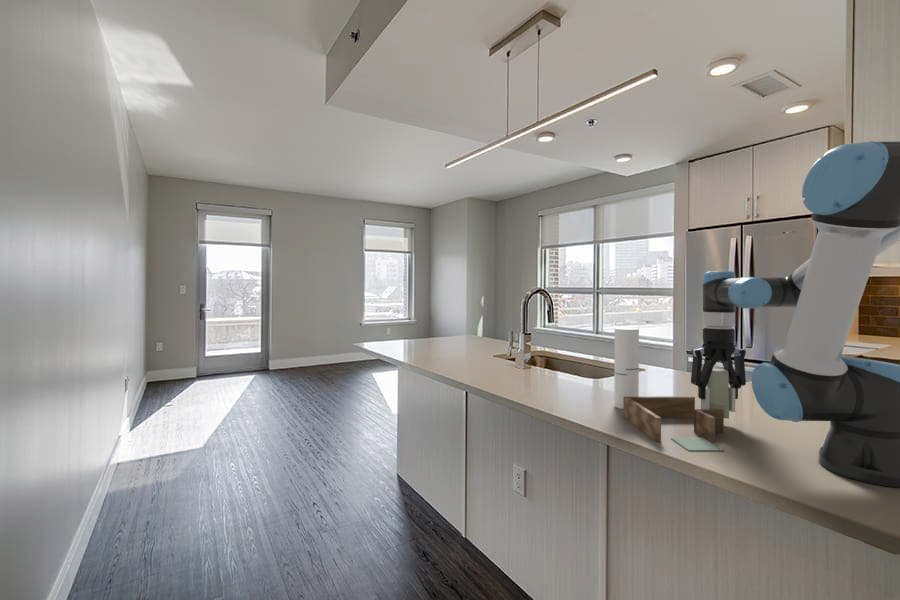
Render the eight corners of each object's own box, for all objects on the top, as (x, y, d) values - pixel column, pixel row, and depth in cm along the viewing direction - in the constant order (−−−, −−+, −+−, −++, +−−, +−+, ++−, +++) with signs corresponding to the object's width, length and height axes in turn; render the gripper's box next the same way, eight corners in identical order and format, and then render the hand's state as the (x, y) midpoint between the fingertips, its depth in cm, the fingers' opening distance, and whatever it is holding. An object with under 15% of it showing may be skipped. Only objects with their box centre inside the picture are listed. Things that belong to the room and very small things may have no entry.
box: (728, 415, 118) (729, 369, 117) (729, 419, 114) (729, 371, 114) (706, 412, 120) (707, 367, 120) (706, 416, 117) (706, 369, 116)
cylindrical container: (641, 410, 131) (641, 329, 130) (616, 409, 133) (616, 329, 132) (635, 403, 138) (636, 327, 137) (612, 402, 140) (612, 327, 139)
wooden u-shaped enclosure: (738, 441, 104) (738, 417, 104) (656, 441, 105) (656, 417, 104) (692, 416, 124) (692, 396, 124) (623, 416, 125) (623, 396, 125)
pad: (723, 451, 98) (723, 449, 98) (688, 451, 98) (688, 449, 98) (703, 438, 106) (703, 437, 106) (671, 438, 106) (671, 437, 106)
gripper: (744, 325, 120) (743, 406, 121) (676, 326, 120) (675, 407, 121) (763, 328, 113) (762, 414, 113) (690, 328, 113) (690, 414, 113)
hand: (717, 410), depth 117 cm, fingers closed on box, 6 cm apart
